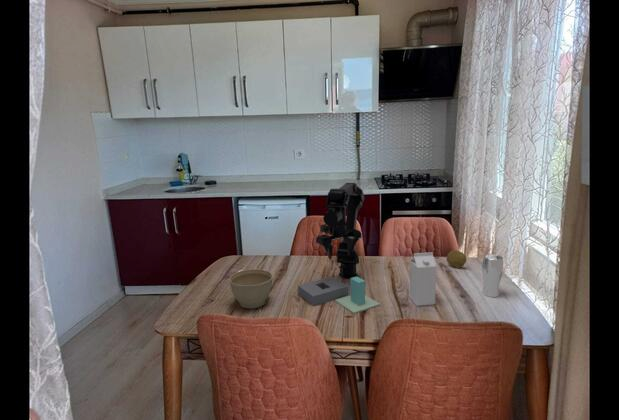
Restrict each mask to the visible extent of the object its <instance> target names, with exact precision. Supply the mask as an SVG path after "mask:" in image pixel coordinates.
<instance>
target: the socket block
mask: <svg viewBox="0 0 619 420" xmlns="http://www.w3.org/2000/svg"><path fill="white" fill-rule="evenodd" d="M297 292H298V293H297V295H298V296H300V297H301V298H302V299H303V300H304V301H306V302H308V303H309V305H311V306H312V307H315V306H320V305H323V304H327V303H330V302H332V301H335V300H336V299H339V298H343V297H346V296H349V293H350V291H349V285H347V284H346V283H344V282H342V281H340V279H337V278H335V277H333V276H332V275H331V276H328V277H325V278H321V279H317V280H313V281H309V282H305V283H302V284H298V285H297Z"/></svg>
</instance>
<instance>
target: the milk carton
mask: <svg viewBox="0 0 619 420" xmlns="http://www.w3.org/2000/svg"><path fill="white" fill-rule="evenodd" d="M409 269H410V270H409V299H410V300H411V301H412V302H413V303H414V304H415V306H417V307H421V306H431V305H432V306H433V305H436V292H437V289H436V288H437V287H436V285H437V263H436V260H435V258H434V252H432V251H431V252H417V253H413V257H412V258H411V259H410V266H409Z"/></svg>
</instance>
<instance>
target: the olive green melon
mask: <svg viewBox="0 0 619 420" xmlns="http://www.w3.org/2000/svg"><path fill="white" fill-rule="evenodd" d="M446 262H447V263H448V264H449V265H450V266H452V267H453V266H454V267H453V268H455V267H459V268H458V269H460V268H462V267H463V266H465V264H466V262H467V257H466V255H465V253H464V252H462V251H460V250H455V249H454V250H450V251H449V252H448V253H447V256H446Z"/></svg>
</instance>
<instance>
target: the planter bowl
mask: <svg viewBox="0 0 619 420" xmlns="http://www.w3.org/2000/svg"><path fill="white" fill-rule="evenodd" d="M243 270H244V269H243ZM273 278H274V277H273V273H272V272H270V271H268V270H264V269H258V268H253V269H245V270H244V271H240V272H238V271H237V272H235V273H233V274H232V275H230V277H229V279H228V280H229V283H230V290H231V292H232V295H233V296H234V298H235V299H236V300H237V302H238V303H239V305H240V307H242V308H245V309H252V310H253V309H256V308H260V307H263V306H264V305H265V304H266V300H267V299H268V297H269V295H270V293H271V291H272V288H273V287H272V286H273Z"/></svg>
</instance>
